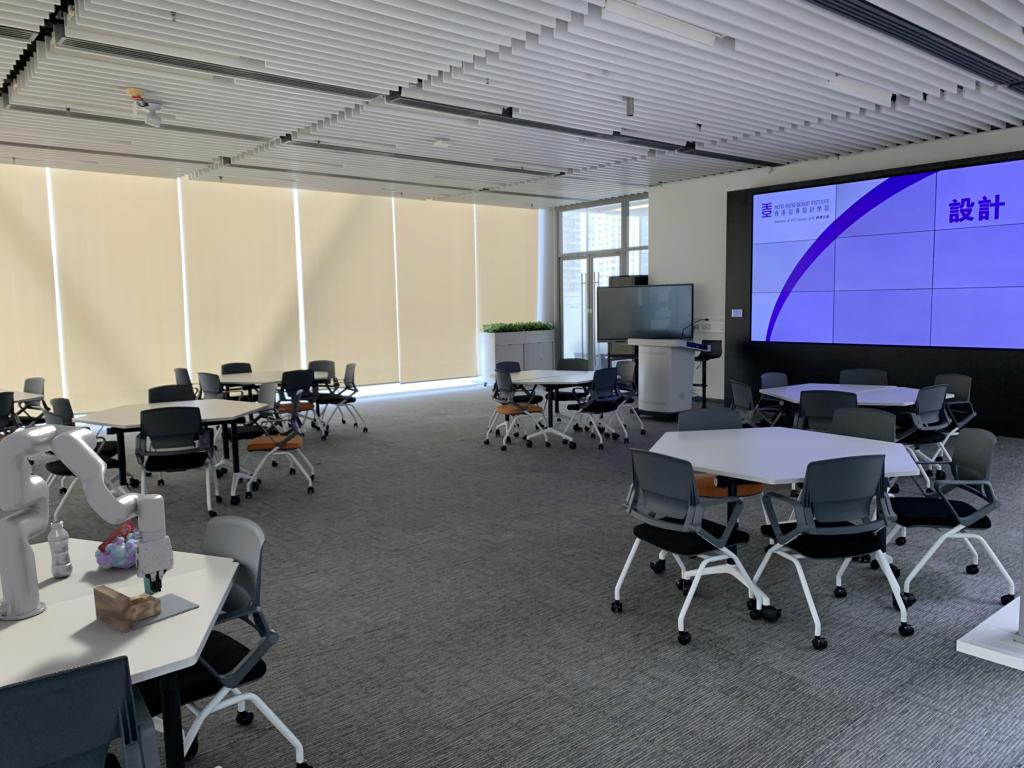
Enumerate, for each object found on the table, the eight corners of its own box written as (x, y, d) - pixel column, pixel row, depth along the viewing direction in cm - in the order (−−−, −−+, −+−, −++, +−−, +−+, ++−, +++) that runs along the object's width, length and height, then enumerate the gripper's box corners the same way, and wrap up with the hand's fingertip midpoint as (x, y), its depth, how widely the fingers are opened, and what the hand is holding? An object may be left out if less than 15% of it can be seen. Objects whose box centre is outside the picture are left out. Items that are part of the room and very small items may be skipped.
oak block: (128, 623, 227) (127, 610, 226) (113, 616, 233) (112, 603, 233) (161, 612, 234) (160, 599, 234) (146, 605, 241) (145, 593, 240)
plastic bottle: (66, 579, 270) (60, 524, 268) (47, 579, 270) (41, 525, 268) (77, 572, 276) (71, 519, 274) (58, 573, 277) (53, 519, 274)
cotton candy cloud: (137, 563, 269) (147, 514, 277) (76, 563, 269) (87, 514, 276) (160, 575, 288) (169, 528, 295) (103, 575, 287) (113, 528, 295)
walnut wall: (122, 632, 222) (119, 600, 220) (96, 617, 233) (93, 587, 232) (133, 628, 224) (130, 597, 223) (106, 614, 235) (103, 584, 234)
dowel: (148, 595, 251) (143, 554, 250) (143, 593, 254) (138, 552, 252) (158, 591, 254) (154, 551, 252) (153, 589, 256) (149, 549, 255)
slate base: (122, 633, 222) (122, 632, 222) (96, 619, 233) (96, 617, 233) (199, 606, 240) (199, 605, 240) (171, 594, 251) (171, 593, 251)
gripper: (133, 542, 228) (137, 601, 230) (181, 530, 240) (185, 587, 242) (122, 538, 233) (126, 595, 235) (170, 526, 245) (173, 581, 247)
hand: (156, 591), depth 238 cm, fingers closed
